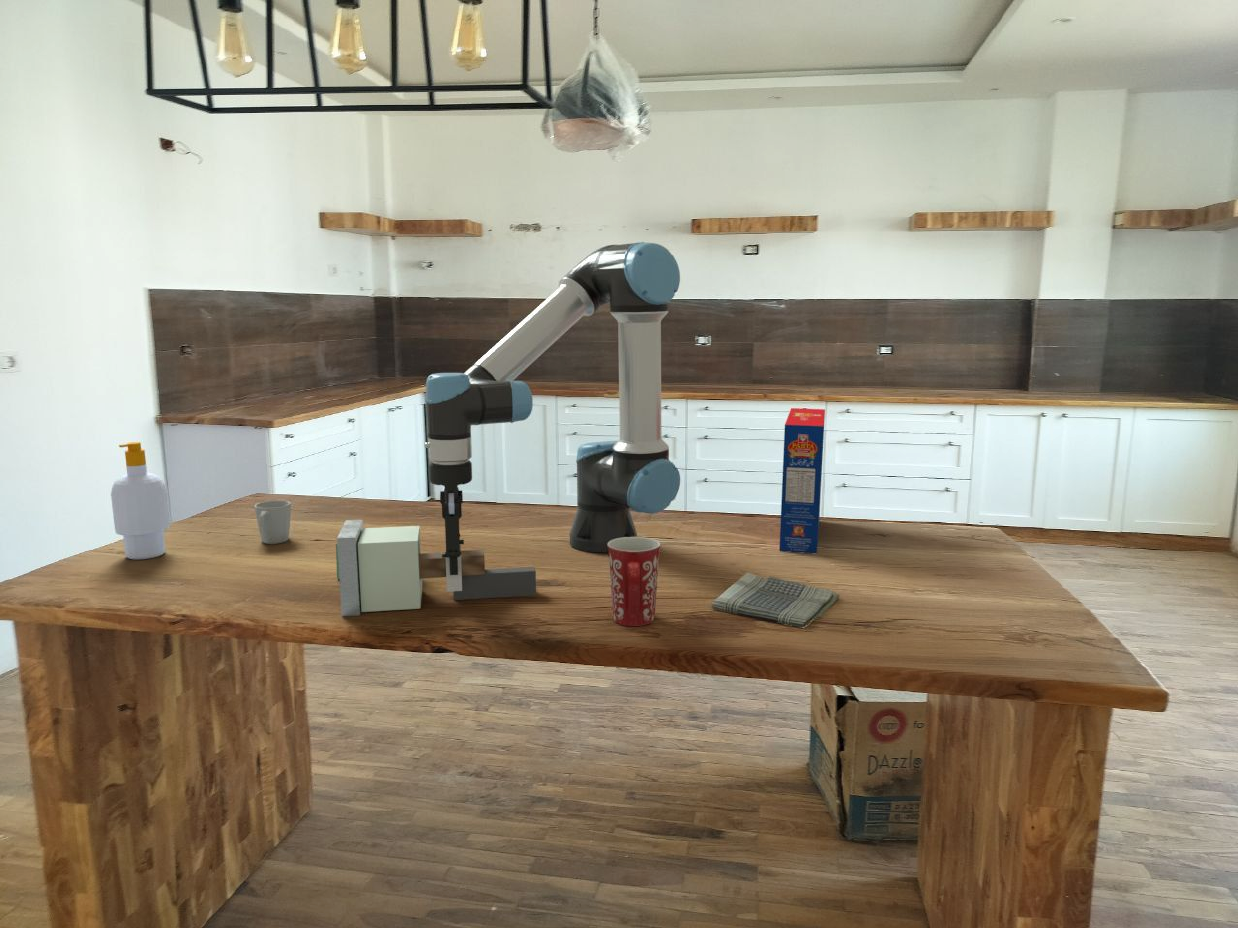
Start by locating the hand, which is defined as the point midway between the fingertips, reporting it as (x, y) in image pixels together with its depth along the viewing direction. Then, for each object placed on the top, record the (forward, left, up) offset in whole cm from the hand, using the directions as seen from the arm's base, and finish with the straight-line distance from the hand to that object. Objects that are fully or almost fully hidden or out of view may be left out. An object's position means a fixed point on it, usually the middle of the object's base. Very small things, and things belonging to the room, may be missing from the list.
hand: (454, 584), depth 156 cm
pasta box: (-79, -29, -3) cm, 84 cm away
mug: (-30, +18, -3) cm, 35 cm away
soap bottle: (+65, -38, -3) cm, 75 cm away
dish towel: (-57, +13, -3) cm, 59 cm away
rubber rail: (-7, 0, -2) cm, 8 cm away
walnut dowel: (+2, 0, +2) cm, 3 cm away
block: (+11, 0, -2) cm, 11 cm away
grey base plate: (+18, 0, -2) cm, 18 cm away
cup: (+40, -43, -3) cm, 59 cm away
